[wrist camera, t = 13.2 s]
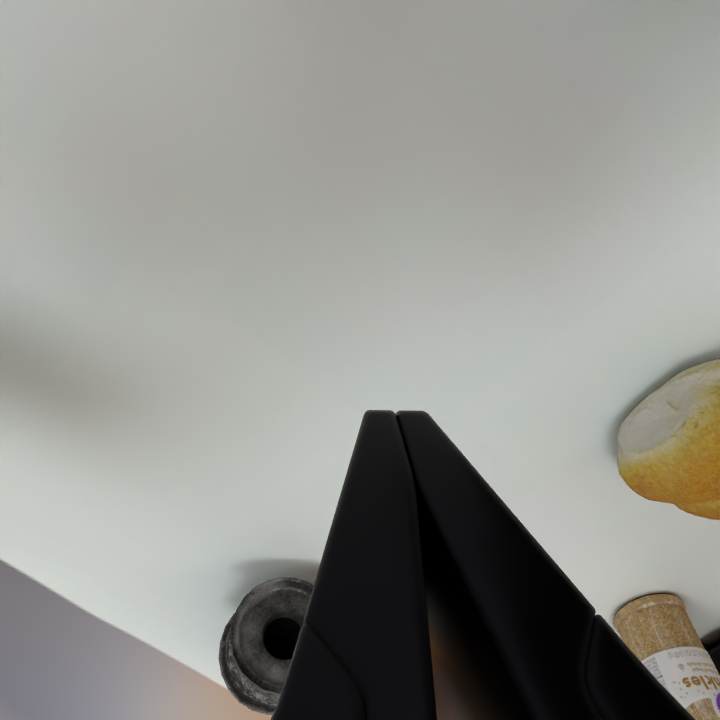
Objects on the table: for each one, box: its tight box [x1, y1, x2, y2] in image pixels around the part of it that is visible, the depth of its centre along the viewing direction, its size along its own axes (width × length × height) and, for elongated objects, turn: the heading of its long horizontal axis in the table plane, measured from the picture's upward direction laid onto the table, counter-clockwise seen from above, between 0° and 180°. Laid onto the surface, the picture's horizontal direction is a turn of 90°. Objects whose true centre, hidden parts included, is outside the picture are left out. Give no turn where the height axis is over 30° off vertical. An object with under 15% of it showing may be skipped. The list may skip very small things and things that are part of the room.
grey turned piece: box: [219, 578, 314, 715], centre depth 35 cm, size 6×6×12 cm
